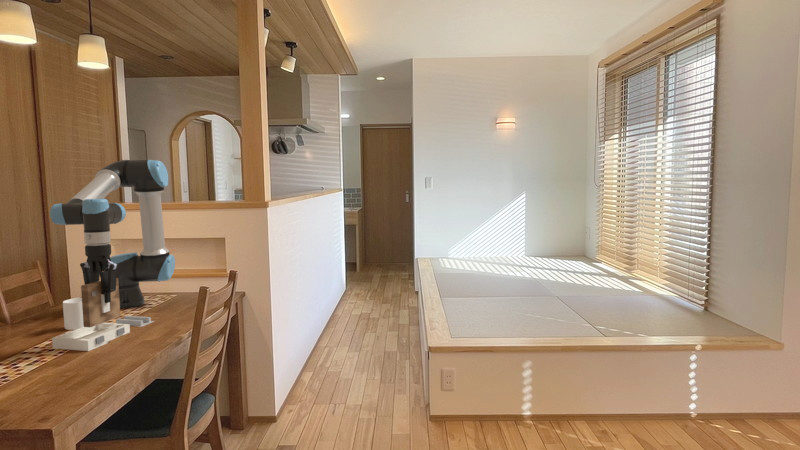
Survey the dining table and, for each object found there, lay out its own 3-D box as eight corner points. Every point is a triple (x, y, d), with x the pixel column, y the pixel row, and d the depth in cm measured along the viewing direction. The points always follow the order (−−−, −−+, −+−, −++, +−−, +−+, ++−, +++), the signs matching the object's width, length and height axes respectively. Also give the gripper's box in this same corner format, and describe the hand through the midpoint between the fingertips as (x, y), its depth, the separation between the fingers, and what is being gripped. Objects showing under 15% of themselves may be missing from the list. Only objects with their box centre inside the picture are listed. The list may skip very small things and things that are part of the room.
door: (114, 316, 170) (112, 277, 168) (121, 316, 169) (118, 278, 168) (83, 326, 157) (80, 285, 156) (90, 327, 156) (88, 285, 155)
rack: (126, 320, 188) (125, 314, 187) (154, 322, 185) (154, 316, 185) (112, 326, 181) (112, 320, 181) (141, 328, 178) (141, 321, 178)
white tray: (97, 331, 175) (96, 322, 174) (131, 333, 172) (130, 324, 171) (52, 348, 157) (52, 338, 157) (89, 351, 154) (89, 340, 154)
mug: (97, 329, 177) (95, 301, 176) (60, 332, 174) (58, 303, 173) (105, 323, 185) (103, 296, 184) (70, 325, 182) (68, 298, 181)
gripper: (68, 244, 158) (73, 313, 160) (108, 246, 155) (112, 315, 157) (87, 242, 166) (91, 307, 168) (126, 243, 163) (129, 309, 165)
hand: (102, 311), depth 163 cm, fingers closed on door, 2 cm apart
